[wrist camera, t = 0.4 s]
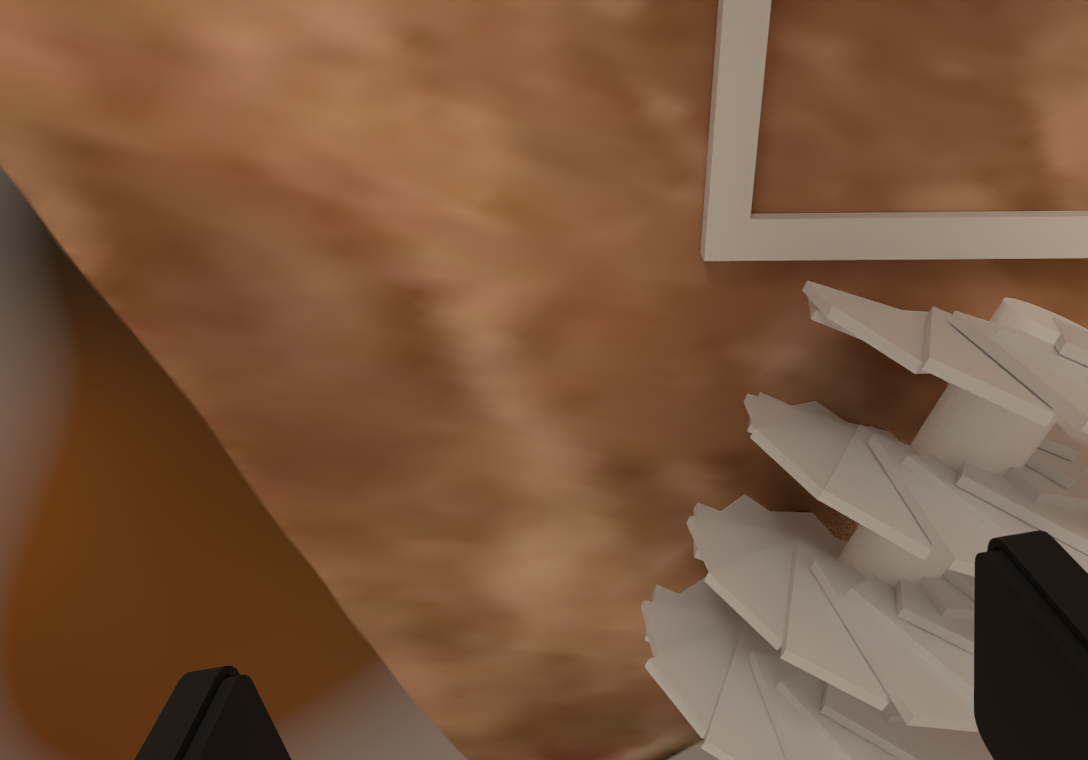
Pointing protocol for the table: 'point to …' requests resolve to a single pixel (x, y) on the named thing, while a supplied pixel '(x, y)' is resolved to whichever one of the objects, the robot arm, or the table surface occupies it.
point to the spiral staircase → (878, 545)
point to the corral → (835, 234)
